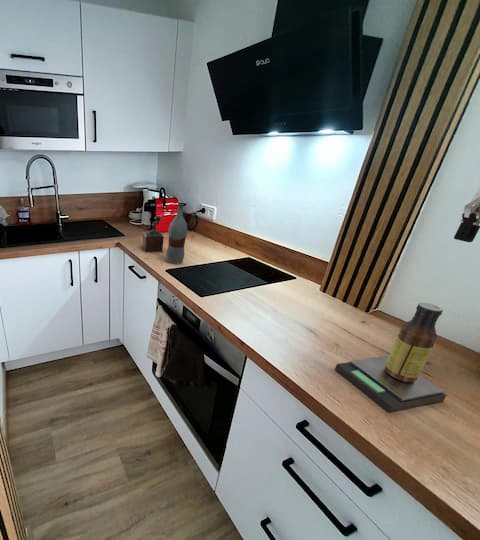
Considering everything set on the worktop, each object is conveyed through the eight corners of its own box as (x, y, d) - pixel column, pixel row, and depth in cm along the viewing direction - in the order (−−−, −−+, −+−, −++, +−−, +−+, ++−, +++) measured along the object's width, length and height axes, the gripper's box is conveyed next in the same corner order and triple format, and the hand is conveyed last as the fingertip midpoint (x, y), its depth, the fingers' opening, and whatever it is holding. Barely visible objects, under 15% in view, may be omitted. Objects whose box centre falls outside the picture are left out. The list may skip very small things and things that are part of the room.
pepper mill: (163, 252, 163) (166, 221, 156) (144, 252, 162) (146, 221, 155) (158, 243, 177) (160, 215, 170) (140, 243, 176) (142, 214, 169)
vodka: (162, 260, 150) (167, 203, 139) (172, 256, 156) (178, 201, 144) (176, 266, 144) (183, 206, 132) (186, 261, 150) (194, 204, 138)
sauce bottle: (418, 377, 72) (457, 309, 64) (411, 387, 69) (451, 317, 61) (385, 362, 77) (418, 297, 69) (377, 371, 74) (410, 304, 66)
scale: (383, 362, 81) (386, 354, 80) (443, 401, 69) (448, 393, 68) (334, 369, 78) (337, 362, 77) (388, 412, 65) (392, 404, 64)
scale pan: (386, 357, 80) (387, 355, 80) (443, 393, 68) (444, 390, 68) (349, 363, 77) (350, 360, 77) (401, 401, 66) (402, 399, 65)
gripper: (515, 164, 57) (471, 246, 64) (572, 166, 60) (524, 243, 67) (466, 162, 64) (431, 236, 70) (520, 164, 67) (481, 234, 74)
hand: (477, 239), depth 69 cm, fingers open, 9 cm apart
